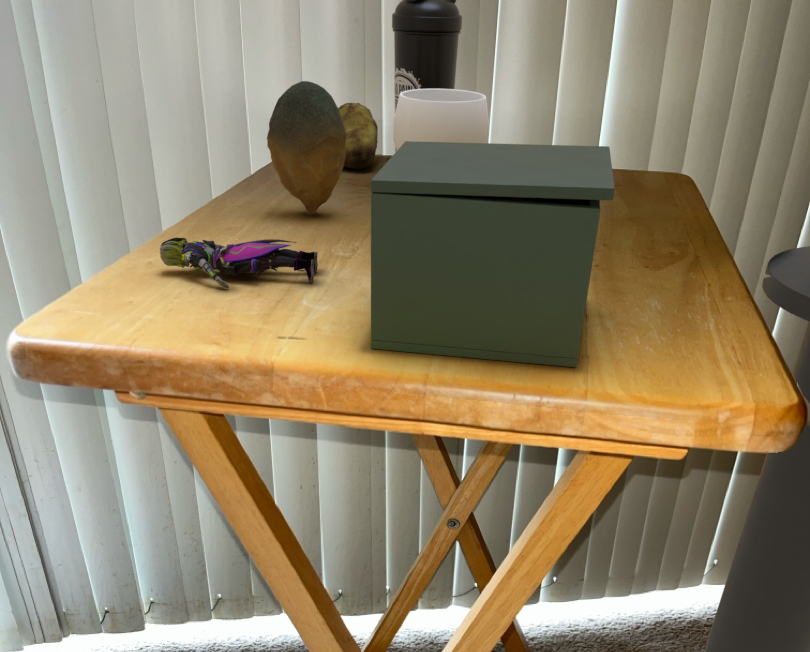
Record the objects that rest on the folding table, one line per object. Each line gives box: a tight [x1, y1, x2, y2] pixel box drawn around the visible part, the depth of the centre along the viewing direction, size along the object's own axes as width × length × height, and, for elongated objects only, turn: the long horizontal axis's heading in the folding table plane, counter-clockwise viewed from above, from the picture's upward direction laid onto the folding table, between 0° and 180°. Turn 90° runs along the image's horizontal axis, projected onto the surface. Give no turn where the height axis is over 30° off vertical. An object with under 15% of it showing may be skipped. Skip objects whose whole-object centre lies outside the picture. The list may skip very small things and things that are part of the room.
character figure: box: [159, 237, 319, 289], centre depth 86 cm, size 9×4×16 cm
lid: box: [370, 141, 616, 201], centre depth 70 cm, size 18×16×1 cm
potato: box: [338, 102, 379, 171], centre depth 128 cm, size 8×13×8 cm, turn 173°
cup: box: [393, 88, 490, 151], centre depth 96 cm, size 11×11×15 cm
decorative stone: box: [266, 80, 346, 215], centre depth 102 cm, size 10×6×15 cm, turn 84°
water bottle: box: [391, 0, 463, 153], centre depth 127 cm, size 10×10×23 cm
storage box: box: [370, 192, 602, 368], centre depth 74 cm, size 18×16×13 cm
